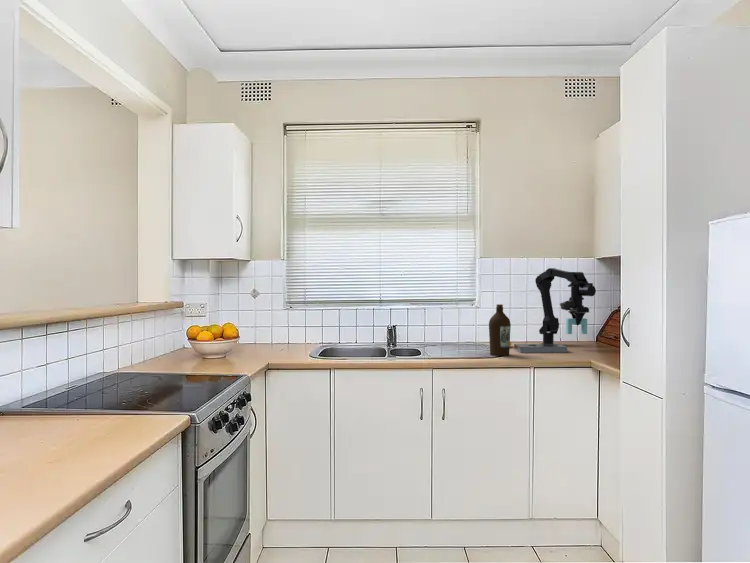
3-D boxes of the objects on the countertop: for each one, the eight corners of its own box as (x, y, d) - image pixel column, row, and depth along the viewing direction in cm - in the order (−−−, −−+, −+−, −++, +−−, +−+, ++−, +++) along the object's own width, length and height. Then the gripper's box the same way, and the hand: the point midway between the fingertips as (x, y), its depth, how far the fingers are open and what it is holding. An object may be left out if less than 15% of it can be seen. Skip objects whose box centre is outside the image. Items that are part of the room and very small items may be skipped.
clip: (566, 333, 300) (566, 318, 300) (584, 333, 301) (584, 318, 300) (568, 334, 297) (568, 318, 297) (587, 333, 298) (587, 318, 297)
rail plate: (514, 349, 300) (514, 343, 300) (559, 349, 300) (559, 343, 300) (520, 352, 288) (520, 346, 288) (567, 352, 288) (567, 346, 288)
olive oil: (484, 354, 283) (484, 304, 283) (499, 352, 289) (499, 303, 288) (499, 356, 274) (499, 305, 274) (515, 355, 280) (515, 304, 280)
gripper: (555, 294, 308) (555, 323, 308) (567, 296, 289) (567, 326, 289) (575, 294, 308) (575, 323, 308) (589, 296, 289) (589, 326, 290)
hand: (576, 325), depth 299 cm, fingers closed on clip, 3 cm apart
